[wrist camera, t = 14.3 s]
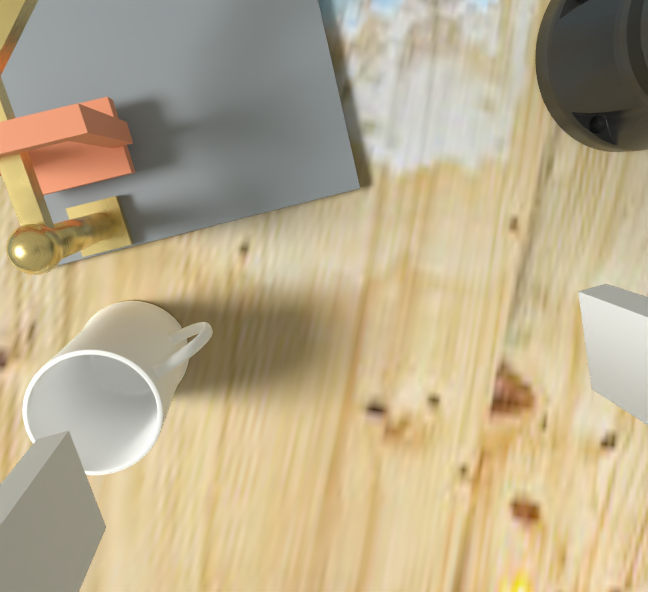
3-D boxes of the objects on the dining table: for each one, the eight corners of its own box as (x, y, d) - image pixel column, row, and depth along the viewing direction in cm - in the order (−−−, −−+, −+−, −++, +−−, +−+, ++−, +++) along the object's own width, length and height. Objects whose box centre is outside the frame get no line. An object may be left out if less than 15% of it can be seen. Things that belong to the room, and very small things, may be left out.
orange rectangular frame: (-10, 128, 38) (-128, 109, 26) (122, 96, 38) (65, 64, 27) (17, 201, 39) (-84, 214, 27) (145, 170, 40) (99, 169, 28)
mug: (197, 266, 45) (177, 299, 33) (243, 360, 47) (240, 422, 35) (58, 327, 44) (-12, 382, 33) (111, 418, 46) (62, 501, 35)
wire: (216, -32, 39) (194, -145, 25) (278, 206, 43) (289, 223, 29) (3, 17, 38) (-143, -73, 24) (86, 255, 42) (1, 297, 28)
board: (294, -93, 40) (295, -101, 39) (357, 187, 45) (360, 188, 43) (-60, -14, 38) (-70, -20, 37) (43, 267, 43) (38, 270, 42)
